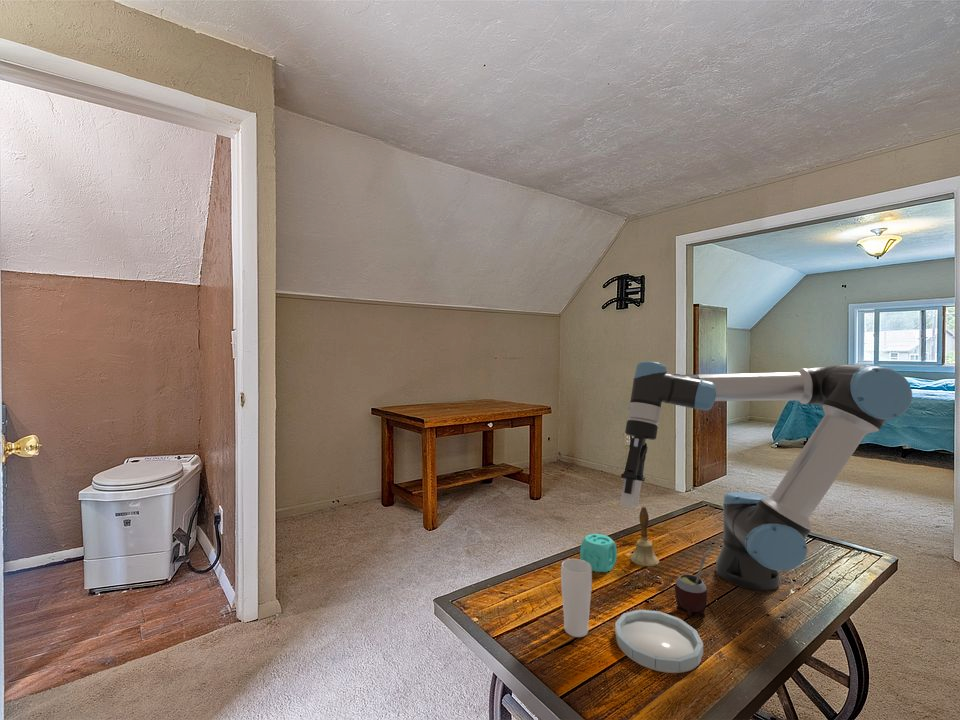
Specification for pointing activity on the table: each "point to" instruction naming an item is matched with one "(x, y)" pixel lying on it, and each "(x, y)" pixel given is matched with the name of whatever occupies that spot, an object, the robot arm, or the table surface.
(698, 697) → the table surface
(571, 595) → the drinking glass
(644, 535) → the hand bell
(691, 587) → the mate gourd
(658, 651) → the dish
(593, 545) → the decorative dice
